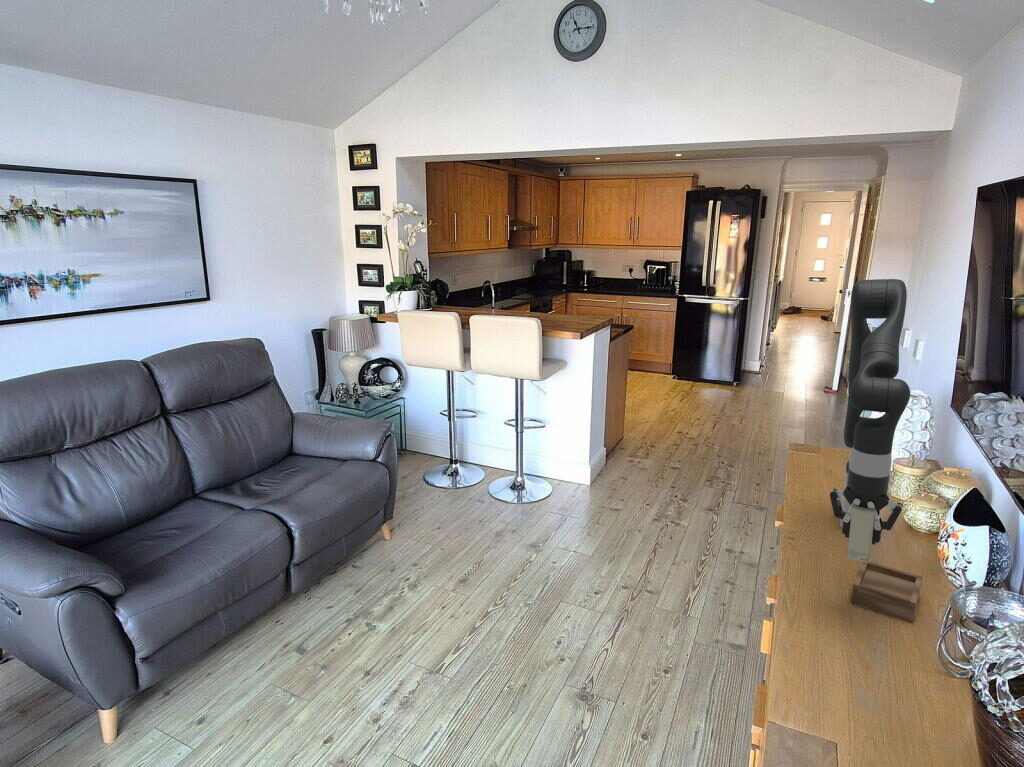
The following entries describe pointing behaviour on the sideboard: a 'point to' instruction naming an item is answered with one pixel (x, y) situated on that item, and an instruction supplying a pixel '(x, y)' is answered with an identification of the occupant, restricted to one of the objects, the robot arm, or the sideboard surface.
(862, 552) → the skincare box
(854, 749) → the sideboard surface
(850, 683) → the sideboard surface
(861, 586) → the brown wooden tray
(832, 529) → the sideboard surface
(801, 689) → the sideboard surface
